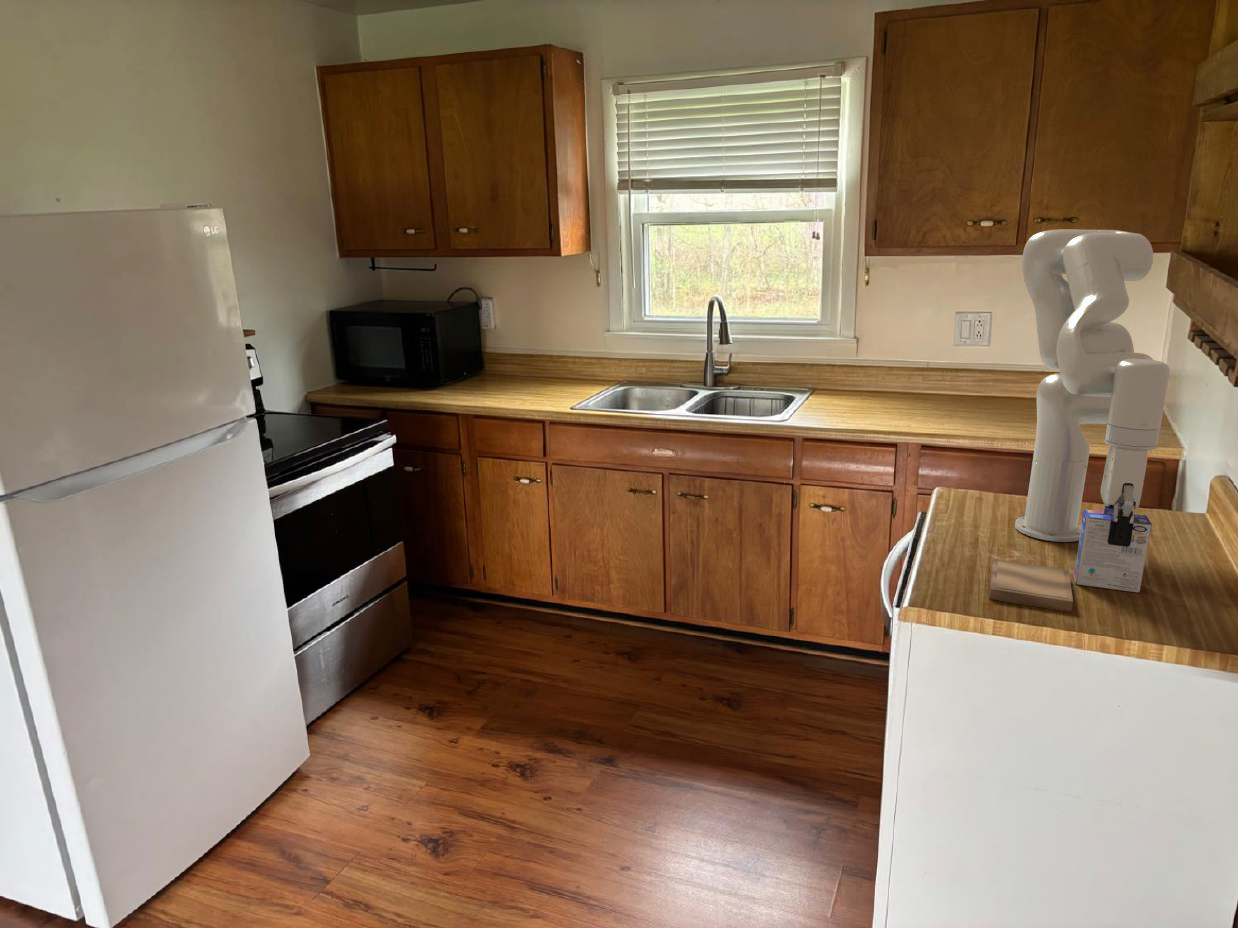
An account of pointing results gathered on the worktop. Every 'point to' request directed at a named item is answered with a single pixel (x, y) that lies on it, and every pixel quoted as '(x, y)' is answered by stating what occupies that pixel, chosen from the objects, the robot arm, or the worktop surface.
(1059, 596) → the board
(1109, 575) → the ink cartridge box
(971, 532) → the worktop surface
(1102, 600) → the worktop surface
